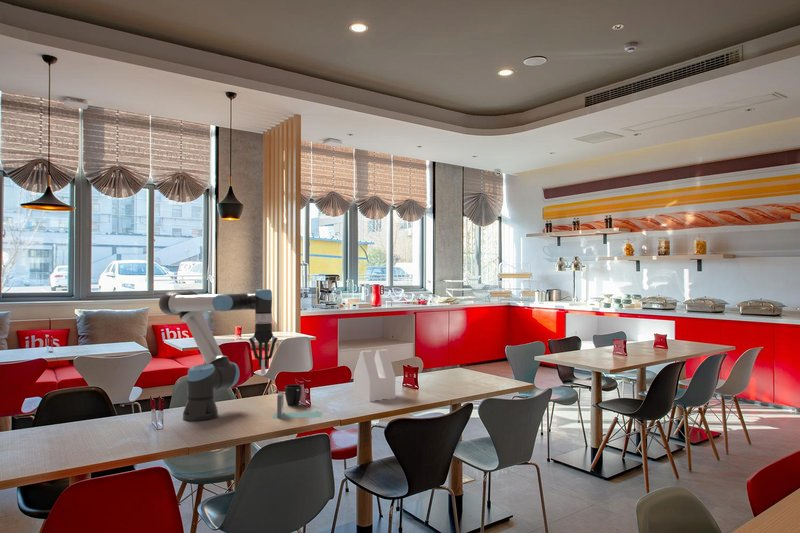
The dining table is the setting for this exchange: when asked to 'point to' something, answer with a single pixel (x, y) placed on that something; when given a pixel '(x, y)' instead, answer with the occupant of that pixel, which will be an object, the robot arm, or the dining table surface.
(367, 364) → the white slotted block
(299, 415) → the mat
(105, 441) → the dining table surface
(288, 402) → the mug
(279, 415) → the tile
